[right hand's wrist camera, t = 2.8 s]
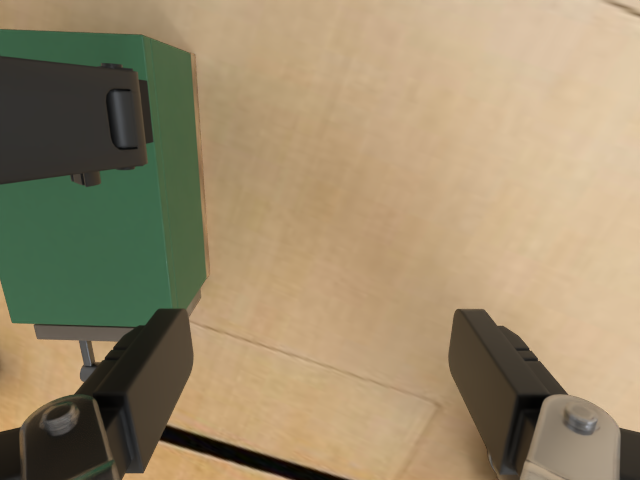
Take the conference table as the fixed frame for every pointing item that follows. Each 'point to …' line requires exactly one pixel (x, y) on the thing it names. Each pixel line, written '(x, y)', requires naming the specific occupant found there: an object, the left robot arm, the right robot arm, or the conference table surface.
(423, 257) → the conference table surface
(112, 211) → the cabinet
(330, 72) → the conference table surface
